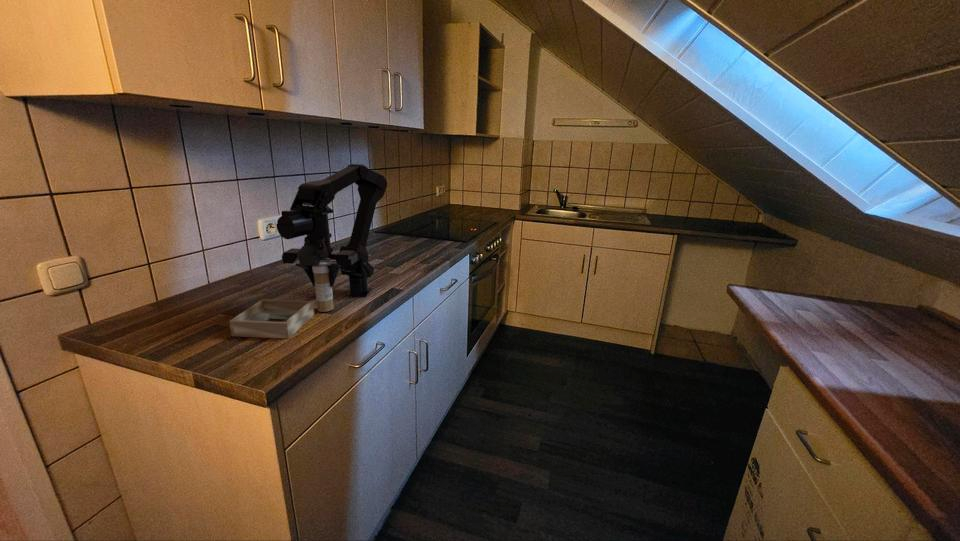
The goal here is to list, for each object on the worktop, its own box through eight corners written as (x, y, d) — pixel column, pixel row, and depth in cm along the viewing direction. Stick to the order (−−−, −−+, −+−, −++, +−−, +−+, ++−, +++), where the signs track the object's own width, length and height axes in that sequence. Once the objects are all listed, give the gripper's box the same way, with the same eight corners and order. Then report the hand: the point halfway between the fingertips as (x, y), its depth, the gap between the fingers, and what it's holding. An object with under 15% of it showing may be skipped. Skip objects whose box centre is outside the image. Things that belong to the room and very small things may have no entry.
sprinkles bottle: (331, 304, 110) (326, 261, 106) (336, 310, 107) (332, 265, 103) (314, 308, 107) (309, 263, 103) (320, 314, 104) (315, 267, 100)
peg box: (264, 312, 105) (262, 299, 103) (314, 314, 104) (312, 301, 103) (231, 336, 91) (229, 321, 90) (289, 338, 91) (286, 323, 90)
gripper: (266, 237, 93) (274, 295, 97) (341, 239, 92) (346, 298, 97) (289, 228, 103) (295, 281, 108) (356, 230, 103) (360, 283, 108)
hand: (323, 286), depth 105 cm, fingers closed on sprinkles bottle, 4 cm apart
